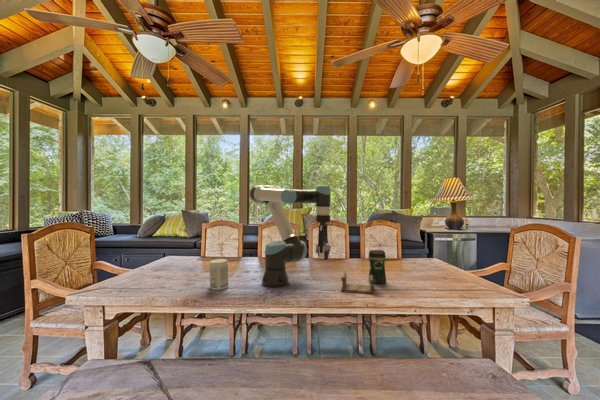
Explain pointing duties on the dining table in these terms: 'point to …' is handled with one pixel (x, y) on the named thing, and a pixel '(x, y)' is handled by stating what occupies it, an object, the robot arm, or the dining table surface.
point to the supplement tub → (218, 274)
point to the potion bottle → (326, 249)
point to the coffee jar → (377, 266)
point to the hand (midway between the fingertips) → (323, 257)
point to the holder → (357, 286)
